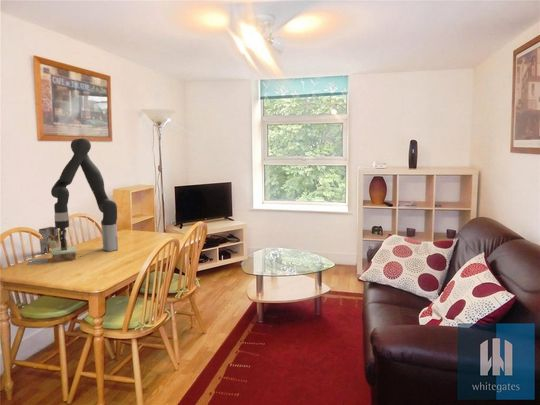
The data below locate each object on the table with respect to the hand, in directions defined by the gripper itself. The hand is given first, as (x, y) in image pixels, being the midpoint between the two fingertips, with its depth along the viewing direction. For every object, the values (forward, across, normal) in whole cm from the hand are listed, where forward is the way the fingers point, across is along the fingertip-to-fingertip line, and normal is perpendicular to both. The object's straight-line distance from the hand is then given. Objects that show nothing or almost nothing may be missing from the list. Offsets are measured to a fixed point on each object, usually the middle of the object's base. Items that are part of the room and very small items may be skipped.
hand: (63, 246), depth 242 cm
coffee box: (+9, +24, +9) cm, 27 cm away
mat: (+8, 0, +14) cm, 16 cm away
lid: (+3, 0, 0) cm, 3 cm away
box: (+8, 0, 0) cm, 8 cm away
